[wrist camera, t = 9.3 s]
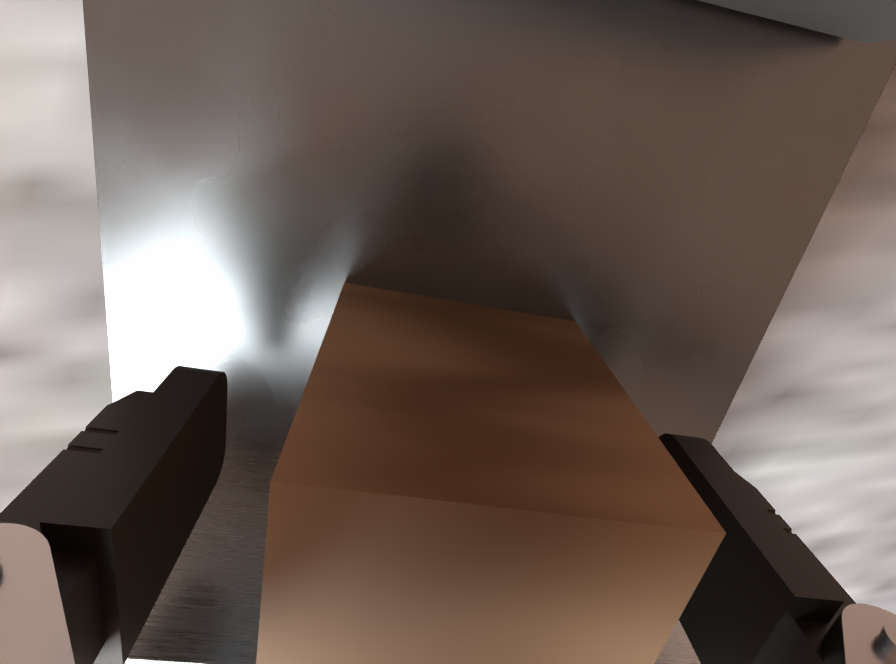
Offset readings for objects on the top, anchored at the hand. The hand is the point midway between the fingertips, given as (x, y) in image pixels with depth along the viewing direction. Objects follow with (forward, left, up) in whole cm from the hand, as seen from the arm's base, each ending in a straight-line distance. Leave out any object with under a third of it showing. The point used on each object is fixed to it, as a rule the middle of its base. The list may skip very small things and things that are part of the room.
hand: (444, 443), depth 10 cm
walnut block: (0, 0, -2) cm, 2 cm away
